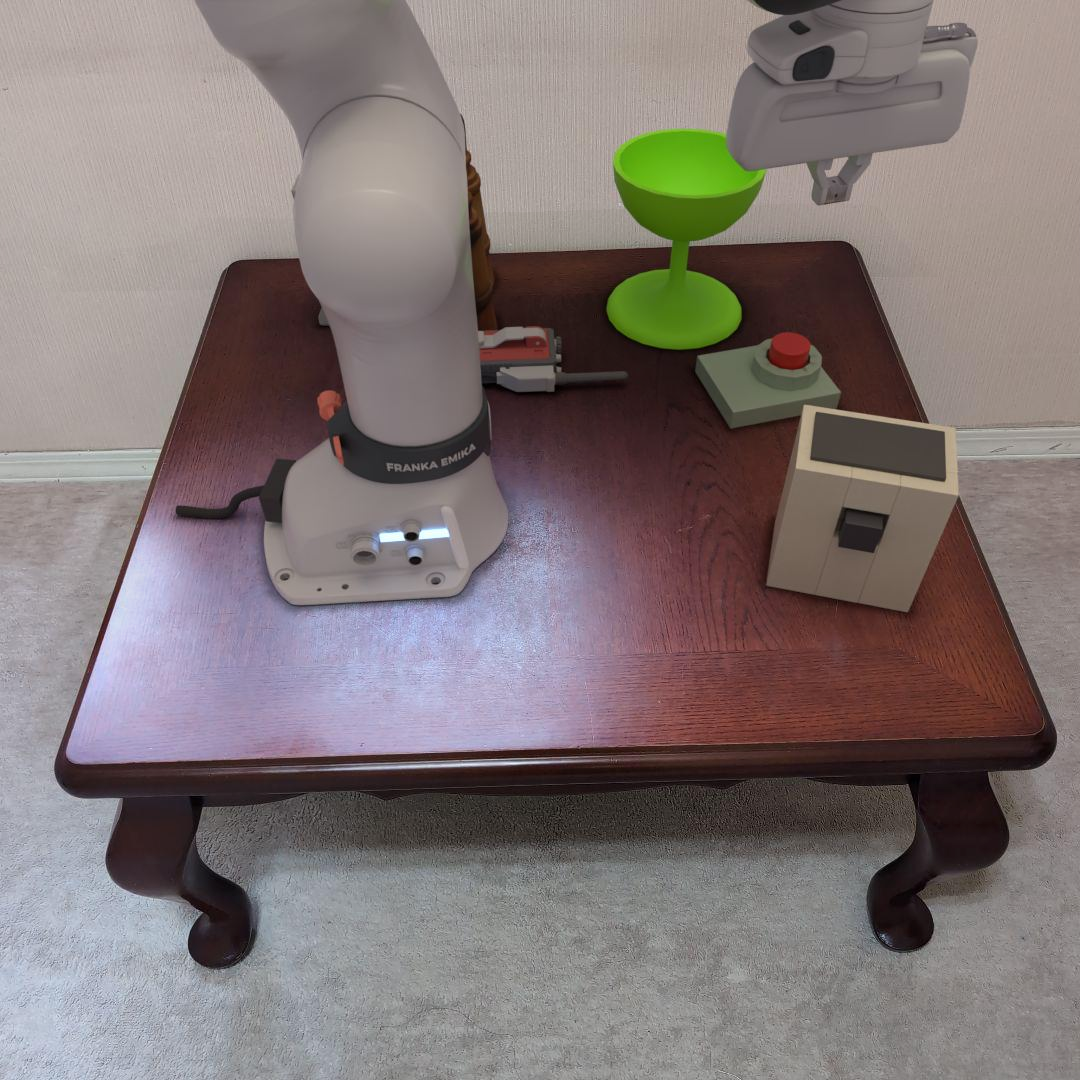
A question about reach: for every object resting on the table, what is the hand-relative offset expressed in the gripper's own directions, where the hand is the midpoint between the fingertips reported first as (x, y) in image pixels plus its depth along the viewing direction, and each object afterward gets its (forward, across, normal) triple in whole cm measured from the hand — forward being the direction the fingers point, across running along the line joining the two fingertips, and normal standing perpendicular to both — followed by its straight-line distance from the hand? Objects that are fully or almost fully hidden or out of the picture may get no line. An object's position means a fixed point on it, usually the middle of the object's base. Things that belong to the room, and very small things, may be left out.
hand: (829, 200), depth 85 cm
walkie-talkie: (+22, +25, -12) cm, 35 cm away
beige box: (+22, +6, +23) cm, 33 cm away
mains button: (+19, 0, -2) cm, 19 cm away
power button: (+15, +8, +27) cm, 32 cm away
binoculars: (+22, +30, -27) cm, 46 cm away
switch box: (+22, +2, -2) cm, 22 cm away
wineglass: (+22, +6, -19) cm, 30 cm away
